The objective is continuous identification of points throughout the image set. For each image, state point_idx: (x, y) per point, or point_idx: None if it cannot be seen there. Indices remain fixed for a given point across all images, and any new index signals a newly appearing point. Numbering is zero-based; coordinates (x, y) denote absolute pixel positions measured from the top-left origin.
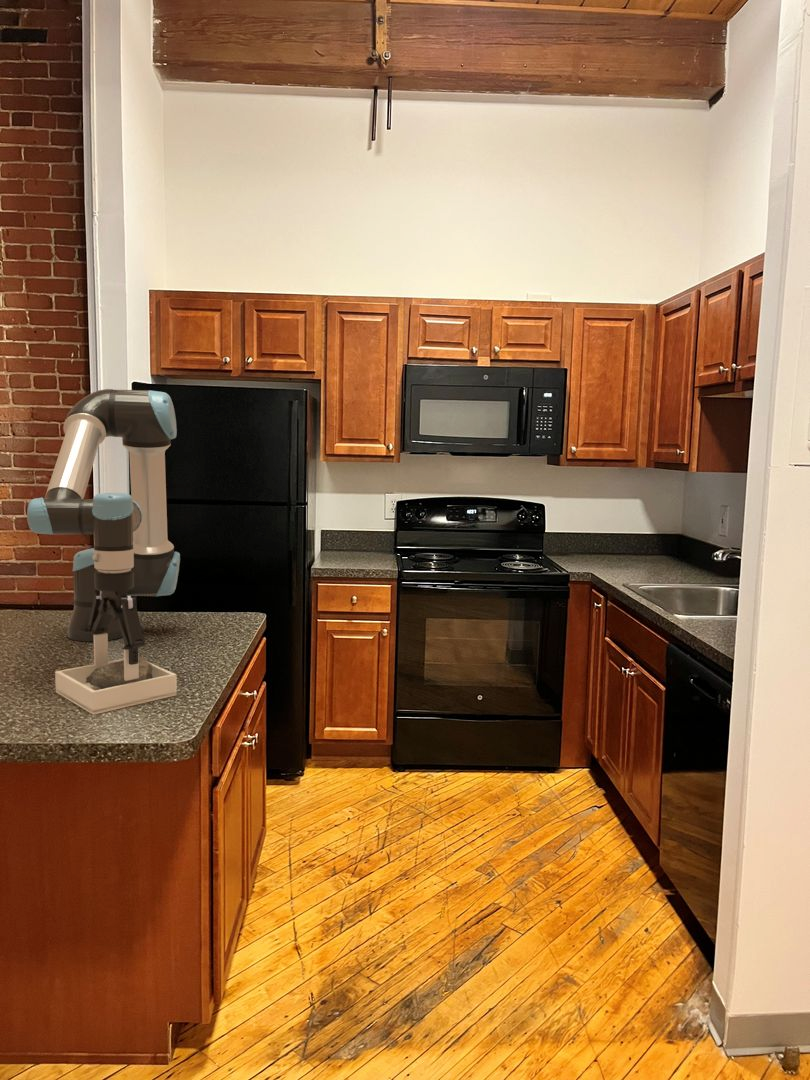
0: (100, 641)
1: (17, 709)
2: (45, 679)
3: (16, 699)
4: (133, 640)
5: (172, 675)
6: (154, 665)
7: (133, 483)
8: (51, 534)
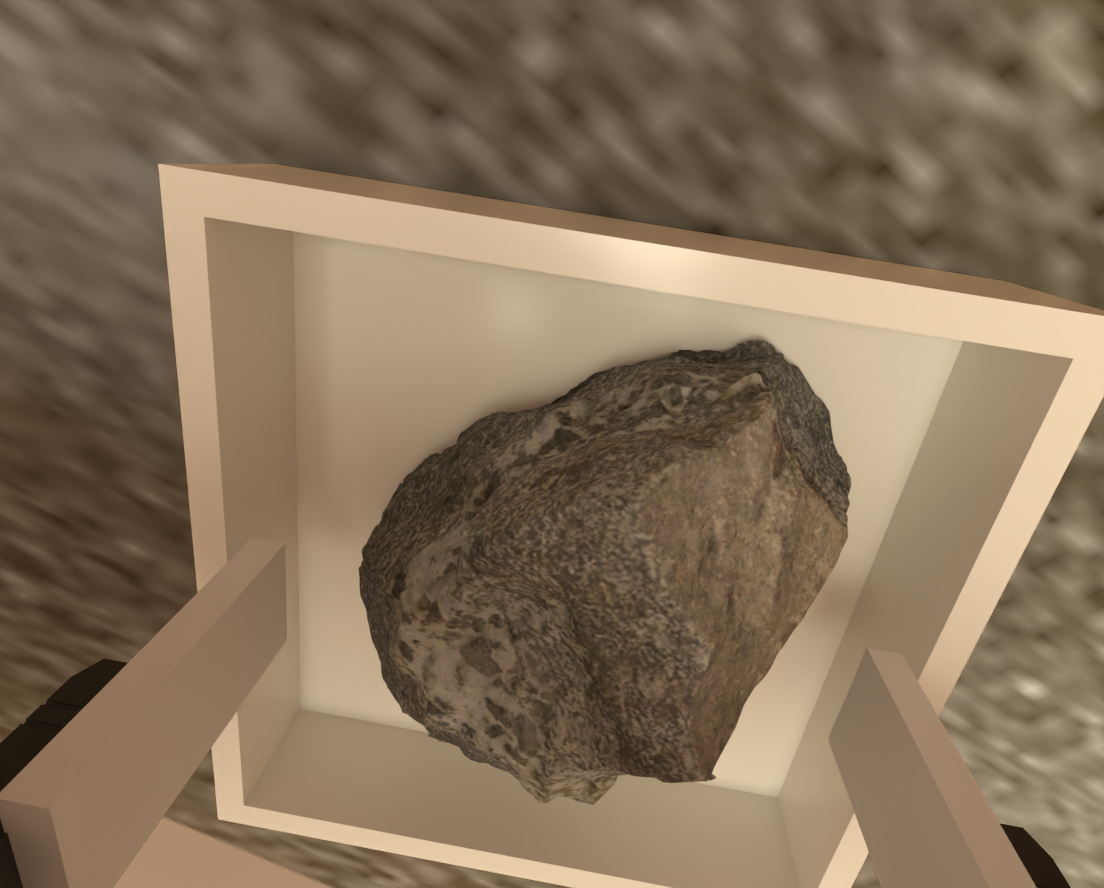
0: (139, 792)
1: None
2: (10, 613)
3: (278, 840)
4: None
5: None
6: (641, 258)
7: None
8: None
